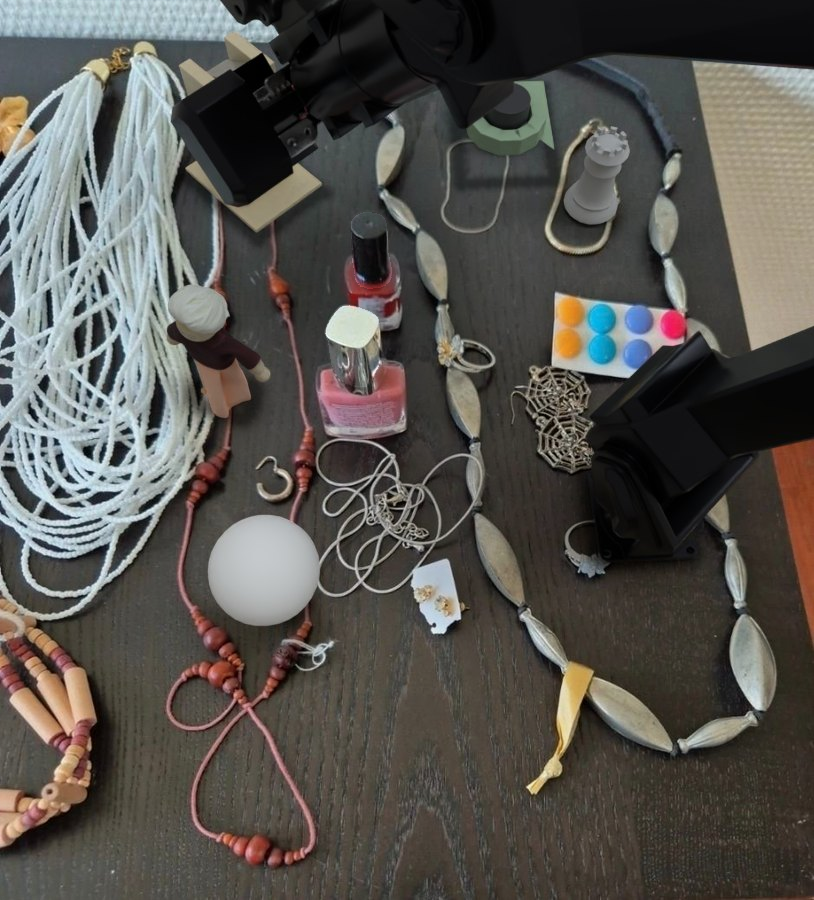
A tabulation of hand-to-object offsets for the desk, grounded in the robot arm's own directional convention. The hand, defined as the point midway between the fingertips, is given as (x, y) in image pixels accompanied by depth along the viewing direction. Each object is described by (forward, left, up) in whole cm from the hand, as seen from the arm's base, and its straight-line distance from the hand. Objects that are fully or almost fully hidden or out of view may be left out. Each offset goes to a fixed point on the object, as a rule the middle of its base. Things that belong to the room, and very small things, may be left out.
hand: (278, 105), depth 53 cm
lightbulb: (-31, +1, -12) cm, 33 cm away
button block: (+9, -17, -12) cm, 23 cm away
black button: (+9, -17, -10) cm, 22 cm away
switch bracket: (+4, +4, -12) cm, 13 cm away
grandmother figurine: (-16, +5, -12) cm, 20 cm away
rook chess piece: (0, -23, -12) cm, 26 cm away
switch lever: (+1, +1, -2) cm, 2 cm away
